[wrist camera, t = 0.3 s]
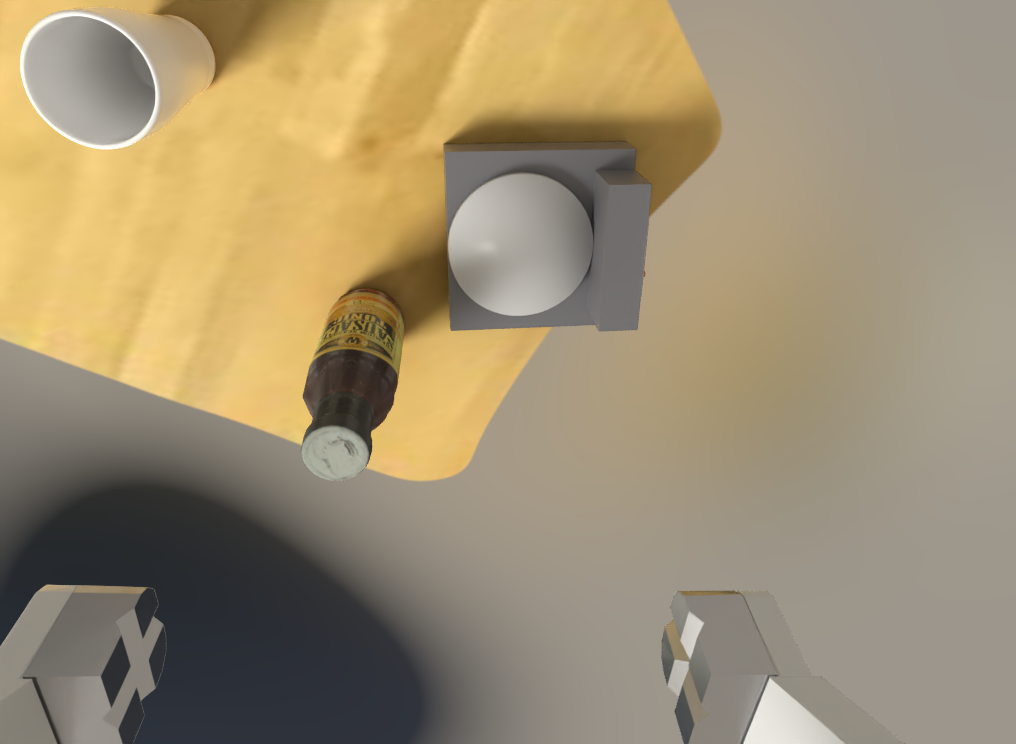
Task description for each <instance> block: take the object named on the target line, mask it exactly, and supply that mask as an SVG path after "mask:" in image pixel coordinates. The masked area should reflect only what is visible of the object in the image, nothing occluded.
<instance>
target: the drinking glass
mask: <svg viewBox="0 0 1016 744" xmlns="http://www.w3.org/2000/svg"><path fill="white" fill-rule="evenodd" d="M20 70H21V77H22V81H23V85H24V88H25V90H26V93H27V95H28V97H29V99H30V101H31V103H32V104H33V106H34V107H35V109H36V110H37V112H38V113H39V114H40V115H41V117H42V118H43V119H44V120H45V121H46V122H47V123H48V124H49V125H50V126H51V127H52V128H53V129H55V130H56V131H57V132H59V133H60V134H62V135H63V136H65V137H66V138H68V139H70V140H72V141H74V142H76V143H79V144H81V145H84V146H88V147H91V148H97V149H118V148H123V147H126V146H130V145H132V144H134V143H137V142H140V141H142V140H144V139H146V138H148V137H150V136H152V135H154V134H156V133H157V132H159V131H160V130H162V129H163V128H165V127H166V126H167V125H168V124H170V123H171V122H172V121H173V120H174V119H175V118H176V117H177V116H178V115H179V114H180V113H181V112H182V111H183V110H184V109H185V108H186V107H187V106H188V105H189V104H190V103H191V102H192V101H193V100H194V99H195V98H196V97H198V96H199V95H201V94H202V93H204V92H205V91H206V90H207V88H208V87H209V86H210V84H211V82H212V80H213V78H214V74H215V56H214V53H213V50H212V47H211V45H210V43H209V41H208V39H207V38H206V36H205V35H204V34H203V33H202V32H201V31H200V30H199V29H198V28H197V27H196V26H195V25H194V24H192V23H191V22H189V21H187V20H185V19H183V18H181V17H178V16H174V15H157V14H151V13H145V12H140V11H135V10H130V9H125V8H118V7H109V6H89V7H79V8H74V9H69V10H63V11H58V12H55V13H52V14H50V15H48V16H46V17H44V18H43V19H41V20H40V21H39V22H38V23H36V24H35V25H34V27H33V28H32V29H31V30H30V32H29V33H28V35H27V36H26V38H25V41H24V43H23V46H22V50H21V56H20Z"/></svg>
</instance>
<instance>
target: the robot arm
mask: <svg viewBox="0 0 1016 744" xmlns="http://www.w3.org/2000/svg"><path fill="white" fill-rule="evenodd" d="M157 607H158V601H157V597H156V594H155V591H154V589H151V588H146V587H114V586H84V585H81V586H70V585H46V586H44V587H43V588H42V589H40V590H39V591H38V592H37V593H35V595H34V596H33V598H32V599H31V601H30V602H29V604H28V605H27V607H26V609H25V610H24V612H23V613H22V615H21V616H20V618H19V619H18V621H17V622H16V624H15V625H14V627H13V628H12V630H11V631H10V633H9V634H8V636H7V638H6V639H5V641H4V642H3V644H2V645H1V647H0V744H133V742H134V740H135V737H136V735H137V732H138V730H139V727H140V725H141V723H142V720H143V718H144V712H143V708H142V705H141V700H142V699H143V698H144V697H145V696H146V695H148V694H149V693H150V692H151V691H153V690H154V689H155V688H156V686H157V683H158V680H159V678H160V675H161V673H162V669H163V664H164V659H165V654H166V634H165V629H164V625H163V624H162V623H161V622H159V621H158V620H157V619H156V618H155V617H153V616H154V613H155V611H156V609H157ZM670 609H671V612H672V615H673V618H674V619H673V620H672V621H671V622H670V623H668V624H667V625H666V626H665V628H664V633H663V638H662V656H661V658H662V665H663V671H664V675H665V679H666V683H667V686H668V687H669V688H670V689H671V690H672V691H673V692H674V693H675V694H676V695H677V696H678V697H679V698H678V702H677V705H676V708H675V714H676V718H677V722H678V725H679V728H680V732H681V735H682V739H683V742H684V744H905V743H904V742H902V741H901V740H900V739H899V738H897V737H896V736H895V735H894V734H893V733H891V732H890V731H889V730H887V729H886V728H885V727H884V726H883V725H881V724H880V723H879V722H878V721H876V720H875V719H874V718H873V717H871V716H870V715H869V714H868V713H867V712H865V711H864V710H863V709H861V708H860V707H859V706H858V705H857V704H855V703H854V702H853V701H852V700H850V699H849V698H848V697H846V696H845V695H844V694H843V693H842V692H840V691H839V690H838V689H837V688H836V687H834V686H833V685H832V684H831V683H829V682H828V681H827V680H826V679H824V678H823V677H820V676H812V674H811V672H810V669H809V668H808V666H807V663H806V661H805V660H804V657H803V655H802V653H801V651H800V649H799V647H798V645H797V643H796V641H795V639H794V637H793V635H792V633H791V631H790V629H789V627H788V625H787V623H786V621H785V619H784V617H783V615H782V613H781V611H780V609H779V607H778V605H777V603H776V601H775V599H774V596H773V595H772V594H770V593H769V592H768V591H737V592H736V591H677V592H676V594H675V595H674V596H673V599H672V603H671V606H670Z"/></svg>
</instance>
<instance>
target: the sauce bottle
mask: <svg viewBox="0 0 1016 744" xmlns="http://www.w3.org/2000/svg"><path fill="white" fill-rule="evenodd" d="M403 338H404V320H403V315H402V313H401V310H400V308H399V307H398V305H397V304H396V302H395V301H394V300H393V299H392V298H391V297H389V296H388V295H386V294H384V293H382V292H380V291H377V290H375V289H369V288H365V289H358V290H355V291H352V292H349V293H347V294H345V295H343V296H341V297H340V298H339V300H338V302H336V303H335V304H334V305H333V307H332V308H331V310H330V312H329V314H328V317H327V319H326V323H325V325H324V328H323V331H322V334H321V336H320V339H319V342H318V344H317V347H316V350H315V353H314V356H313V359H312V362H311V364H310V367H309V371H308V376H307V380H306V384H305V389H304V393H303V399H304V401H305V403H306V405H307V408H308V410H309V412H310V414H311V416H312V417H313V420H312V423H311V425H310V426H309V427H308V428H307V430H306V432H305V435H304V438H303V443H302V448H301V453H302V459H303V461H304V463H305V465H306V466H307V467H308V468H309V469H310V470H311V471H312V473H314V474H316V475H317V476H319V477H321V478H324V479H327V480H333V481H336V480H348V479H351V478H353V477H355V476H357V475H358V474H359V473H360V472H362V471H363V470H364V468H365V467H366V466H367V464H368V462H369V459H370V455H371V452H372V439H371V431H372V430H374V429H376V428H377V427H378V426H379V425H380V424H381V423H382V422H383V421H384V420H385V418H386V416H387V414H388V412H389V411H390V410H391V408H392V405H393V402H394V394H395V392H396V389H397V384H398V377H399V370H400V362H401V354H402V345H403Z"/></svg>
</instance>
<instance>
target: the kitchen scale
mask: <svg viewBox="0 0 1016 744" xmlns="http://www.w3.org/2000/svg"><path fill="white" fill-rule="evenodd" d="M443 147H444V176H445V206H446V235H447V264H448V294H449V318H450V328H451V331H457V330H482V329H506V328H530V327H555V326H577V325H578V326H579V325H596V327H597V329H598V331H622V330H637V329H638V320H639V310H640V300H641V295H642V285H643V277H644V276H645V271H644V265H645V255H646V245H647V235H648V225H649V209H650V199H651V189H652V184H651V183H650V182H649V181H648V180H646V179H645V178H644V177H643V176H641V175H640V174H639V173H638V172H637V171H635V159H636V148H634V147H633V146H632V145H630V144H629V143H627V142H626V141H617V142H549V143H480V144H443Z"/></svg>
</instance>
